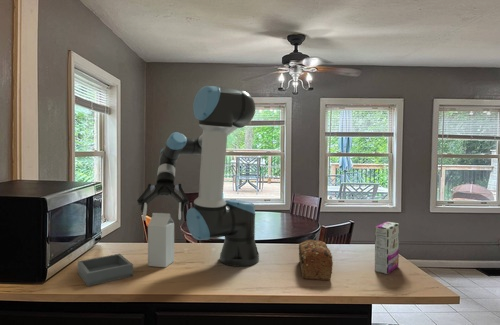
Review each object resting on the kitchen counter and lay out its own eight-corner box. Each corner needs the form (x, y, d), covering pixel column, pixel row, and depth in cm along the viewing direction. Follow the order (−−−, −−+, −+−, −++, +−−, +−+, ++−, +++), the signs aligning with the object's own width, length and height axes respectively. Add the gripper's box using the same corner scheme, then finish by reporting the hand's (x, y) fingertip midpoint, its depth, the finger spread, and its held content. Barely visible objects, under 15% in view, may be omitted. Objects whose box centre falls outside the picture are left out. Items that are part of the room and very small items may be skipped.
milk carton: (165, 267, 118) (165, 215, 118) (147, 266, 120) (147, 214, 119) (174, 261, 125) (174, 212, 125) (157, 260, 127) (157, 211, 126)
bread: (332, 281, 108) (333, 251, 108) (300, 280, 109) (300, 250, 109) (325, 262, 126) (326, 236, 126) (297, 261, 128) (298, 235, 127)
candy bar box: (385, 263, 125) (386, 221, 125) (398, 266, 122) (400, 223, 121) (373, 271, 117) (374, 225, 117) (387, 275, 114) (389, 228, 113)
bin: (132, 275, 111) (132, 264, 110) (87, 286, 102) (87, 273, 102) (119, 264, 122) (119, 253, 121) (77, 272, 113) (77, 261, 113)
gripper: (195, 182, 147) (194, 222, 133) (137, 182, 144) (130, 224, 130) (194, 171, 142) (193, 212, 128) (135, 171, 138) (127, 213, 124)
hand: (161, 218), depth 129 cm, fingers open, 13 cm apart
